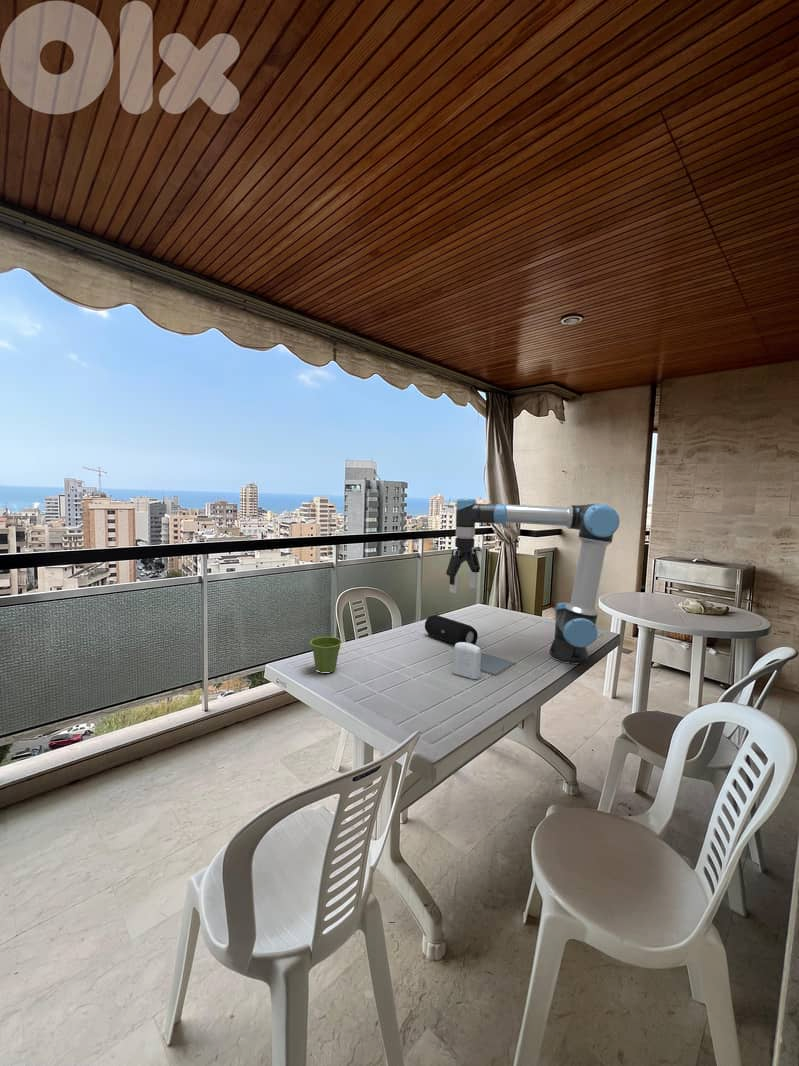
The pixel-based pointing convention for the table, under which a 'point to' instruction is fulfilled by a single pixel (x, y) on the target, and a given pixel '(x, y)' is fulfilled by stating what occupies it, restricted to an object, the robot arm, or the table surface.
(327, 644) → the plant pot
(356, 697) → the table surface
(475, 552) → the robot arm
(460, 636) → the portable speaker
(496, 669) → the rubber mat
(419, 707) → the table surface
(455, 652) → the photo printer
